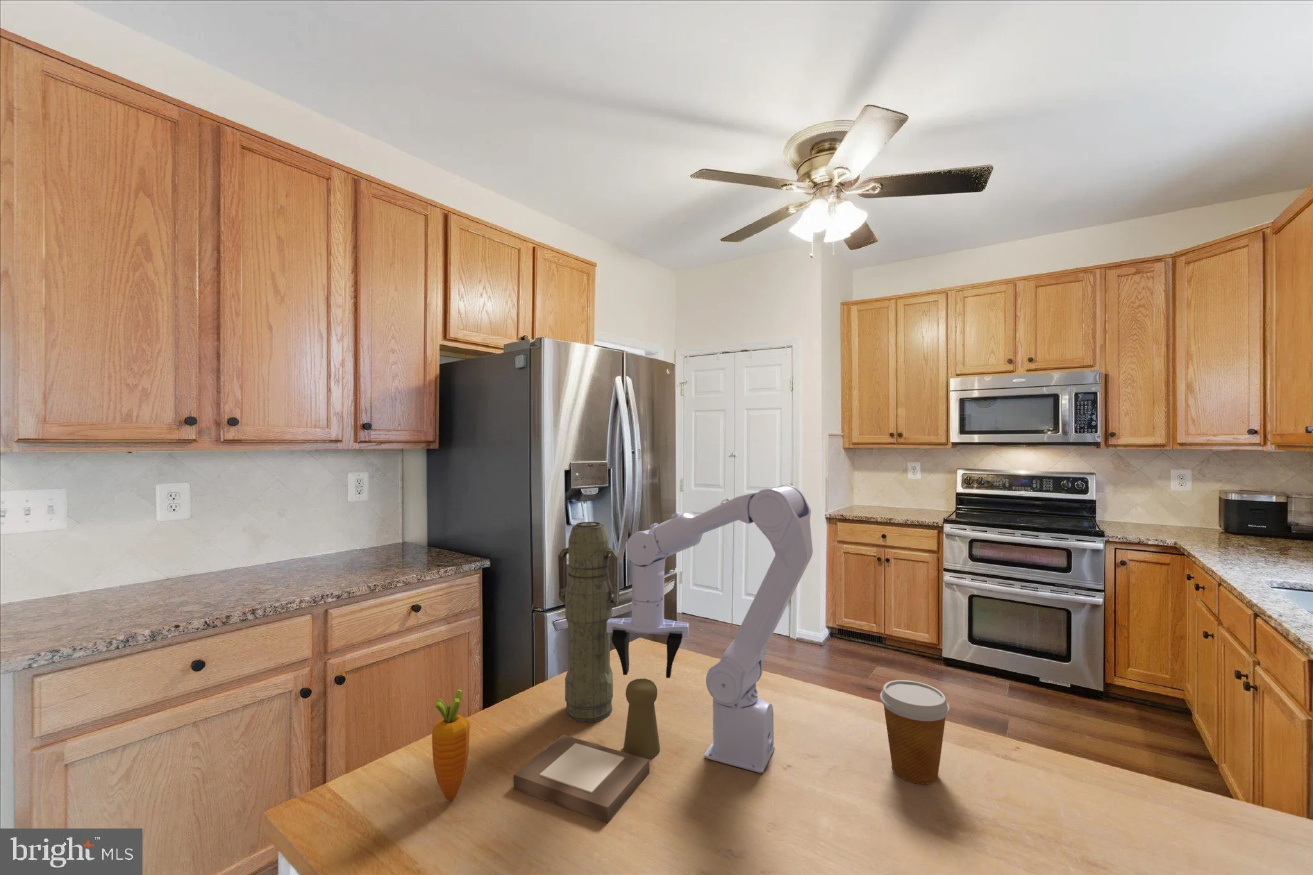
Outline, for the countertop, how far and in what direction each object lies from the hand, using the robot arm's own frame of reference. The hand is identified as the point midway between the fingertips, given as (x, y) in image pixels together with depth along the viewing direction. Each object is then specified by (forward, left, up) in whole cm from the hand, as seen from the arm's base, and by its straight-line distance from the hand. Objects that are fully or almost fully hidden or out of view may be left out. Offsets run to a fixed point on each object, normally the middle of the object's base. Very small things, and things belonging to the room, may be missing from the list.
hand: (647, 674), depth 96 cm
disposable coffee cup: (-43, -6, -9) cm, 44 cm away
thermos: (+12, 0, -9) cm, 15 cm away
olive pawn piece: (-3, +7, -9) cm, 12 cm away
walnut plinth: (+1, +18, -9) cm, 20 cm away
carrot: (+15, +30, -9) cm, 35 cm away
